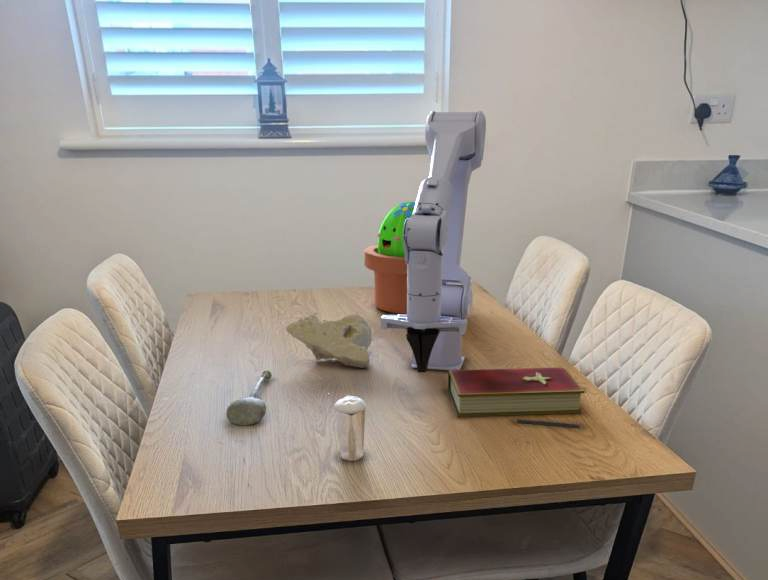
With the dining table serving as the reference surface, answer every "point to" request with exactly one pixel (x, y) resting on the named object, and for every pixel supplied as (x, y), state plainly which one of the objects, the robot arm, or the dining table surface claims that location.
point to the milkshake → (350, 426)
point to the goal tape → (549, 423)
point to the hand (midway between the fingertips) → (422, 370)
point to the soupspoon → (248, 407)
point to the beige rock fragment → (335, 338)
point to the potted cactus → (390, 261)
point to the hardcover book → (514, 391)
